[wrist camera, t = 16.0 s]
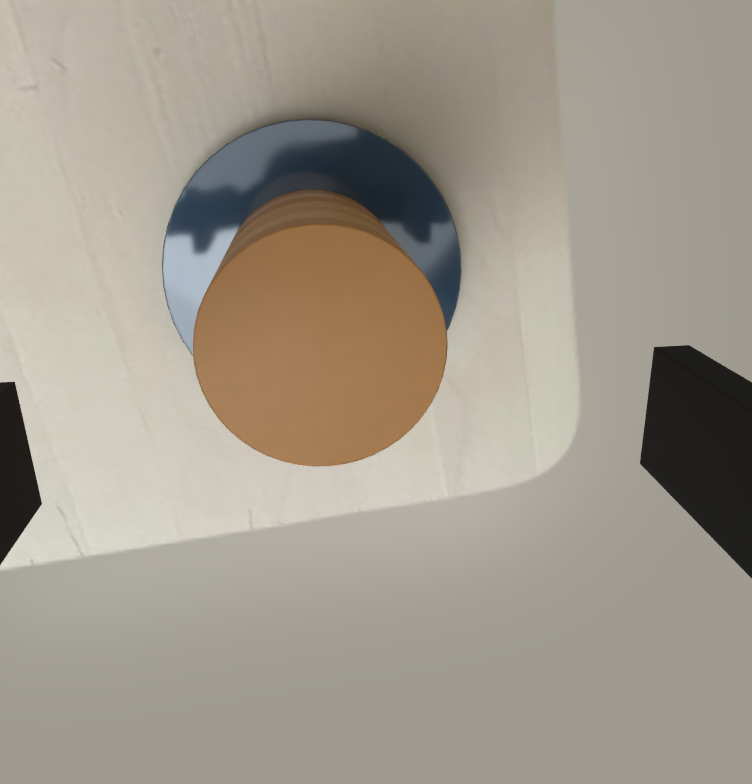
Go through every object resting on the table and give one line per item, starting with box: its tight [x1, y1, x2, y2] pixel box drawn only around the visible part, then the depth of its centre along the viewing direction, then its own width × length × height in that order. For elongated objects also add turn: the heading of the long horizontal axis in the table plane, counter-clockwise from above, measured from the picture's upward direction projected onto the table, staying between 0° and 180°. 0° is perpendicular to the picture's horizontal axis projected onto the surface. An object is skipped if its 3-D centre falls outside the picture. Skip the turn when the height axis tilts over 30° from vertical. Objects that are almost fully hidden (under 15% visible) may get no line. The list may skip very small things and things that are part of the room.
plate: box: [162, 119, 461, 355], centre depth 29 cm, size 12×12×1 cm
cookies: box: [193, 189, 447, 466], centre depth 24 cm, size 7×7×10 cm
